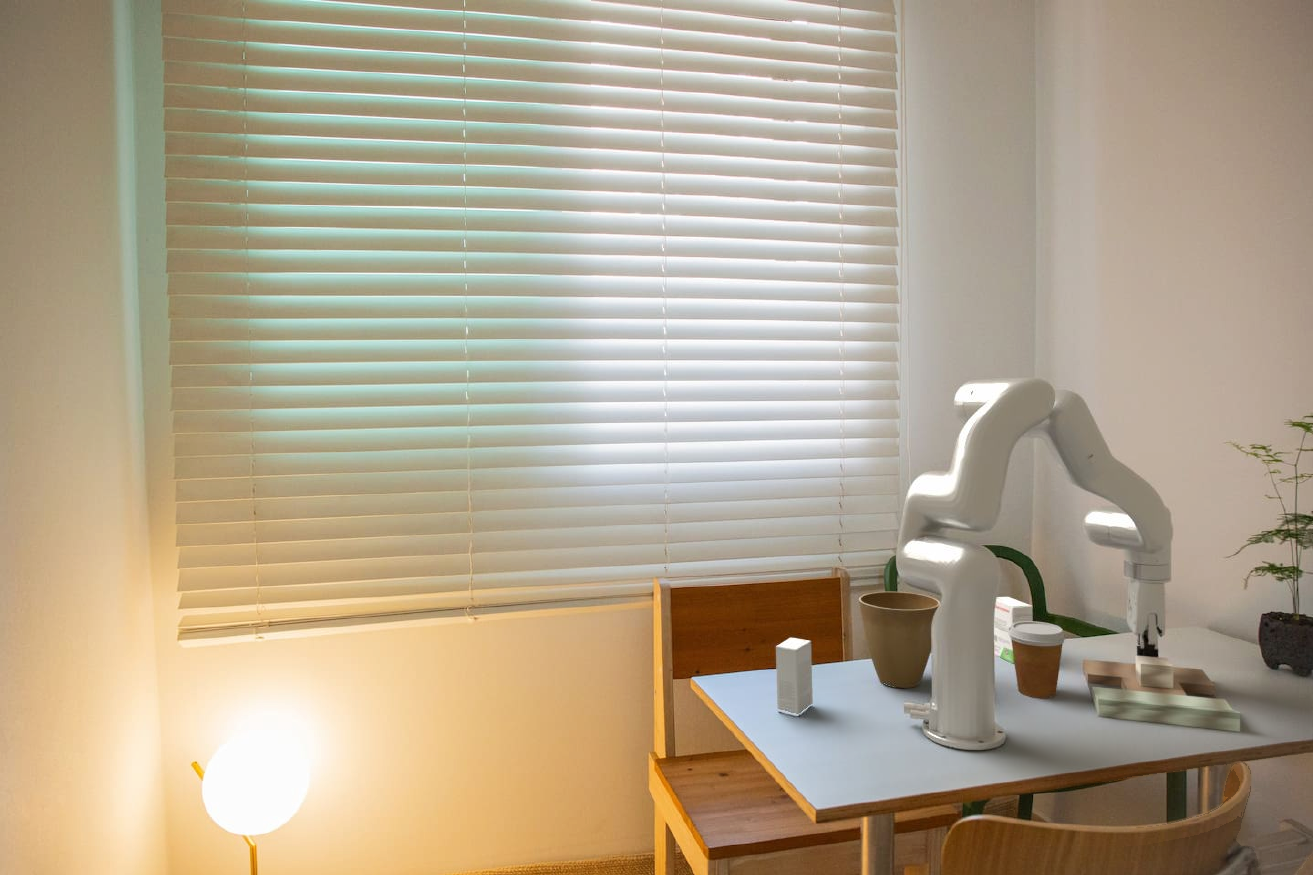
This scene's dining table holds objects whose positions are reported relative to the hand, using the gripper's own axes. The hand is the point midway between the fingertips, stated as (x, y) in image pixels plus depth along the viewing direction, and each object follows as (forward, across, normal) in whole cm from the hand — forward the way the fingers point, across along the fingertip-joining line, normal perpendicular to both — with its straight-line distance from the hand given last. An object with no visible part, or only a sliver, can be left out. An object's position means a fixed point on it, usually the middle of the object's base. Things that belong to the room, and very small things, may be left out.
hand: (1147, 668), depth 151 cm
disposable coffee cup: (+3, +10, -19) cm, 22 cm away
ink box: (+3, -10, -23) cm, 25 cm away
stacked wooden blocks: (+3, +7, 0) cm, 7 cm away
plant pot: (+3, +12, -43) cm, 45 cm away
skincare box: (+3, +32, -59) cm, 67 cm away
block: (+1, +5, 0) cm, 5 cm away
